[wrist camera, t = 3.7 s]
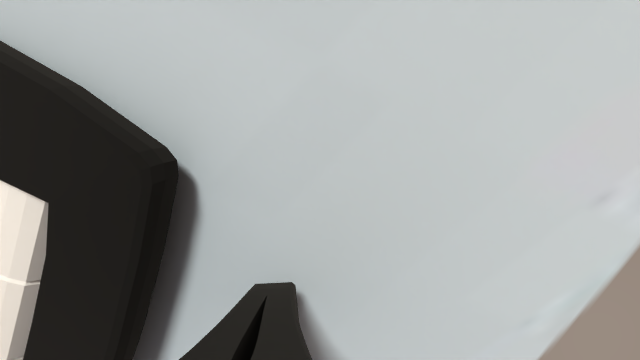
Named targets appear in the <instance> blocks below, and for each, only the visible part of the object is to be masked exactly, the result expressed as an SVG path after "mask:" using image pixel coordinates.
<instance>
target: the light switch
mask: <svg viewBox="0 0 640 360" xmlns="http://www.w3.org/2000/svg"><path fill="white" fill-rule="evenodd" d="M178 176H179V175H178V166H177V160H176V158H175V157H174V156H173V155H172V153H171V152H170V151H169V150H168V148H167V147H165V146H164V145H163V144H161V143H160V142H158V141H157V140H156V139H154V138H153V137H151V136H150V135H149V134H147V133H146V132H144V131H143V130H142V129H140V128H139V127H138V126H136V125H135V124H133V123H132V122H131V121H129V120H128V119H126V118H125V117H124V116H122V115H121V114H119V113H118V112H117V111H115V110H114V109H112V108H111V107H110V106H108V105H107V104H105V103H104V102H103V101H101V100H100V99H98V98H97V97H96V96H94V95H93V94H91V93H90V92H89V91H87V90H86V89H84V88H83V87H82V86H80V85H78V84H76V83H74V82H73V81H71V80H69V79H67V78H66V77H64V76H62V75H60V74H58V73H57V72H55V71H53V70H51V69H50V68H48V67H46V66H44V65H42V64H41V63H39V62H37V61H35V60H34V59H32V58H30V57H28V56H26V55H25V54H23V53H21V52H19V51H18V50H16V49H14V48H12V47H10V46H9V45H7V44H5V43H3V42H2V41H0V360H132V359H133V356H134V353H135V350H136V347H137V344H138V341H139V338H140V335H141V332H142V329H143V326H144V322H145V318H146V315H147V311H148V307H149V303H150V300H151V296H152V292H153V288H154V285H155V281H156V277H157V274H158V270H159V266H160V262H161V259H162V255H163V251H164V246H165V241H166V236H167V231H168V226H169V221H170V216H171V211H172V206H173V201H174V196H175V191H176V186H177V181H178Z"/></svg>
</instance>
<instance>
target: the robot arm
mask: <svg viewBox="0 0 640 360" xmlns="http://www.w3.org/2000/svg"><path fill="white" fill-rule="evenodd" d="M179 360H312V358H311V355H310V353H309V350H308V348H307V345H306V343H305V340H304V337H303V334H302V331H301V328H300V324H299V318H298V308H297V297H296V287H295V285H294V284H293V283H292V282H287V283H267V284H255V285H254V286H253V287H252V288H251V289H250V290H249V291H248V292H247V293H246V294H245V296H244V297H243V298H242V299H241V300H240V301H239V302H238V303H237V304H236V305H235V307H234V308H233V309H232V310H231V311H230V312H229V313H228V314H227V315H226V316H225V317H224V318H223V319H222V320H221V321H220V322H219V323H218V324H217V325H216V326H215V327H214V328H213V329H212V330H211V331H210V332H209V333H208V334H207V335H206V336H205V337H204V338H203V339H202V340H201V341H200V342H199V343H197V344H196V345H195V346H194V347H193V348H192V349H191V350H190V351H189V352H187V353H186V354H185V355H184V356H183V357H182V358H180V359H179Z"/></svg>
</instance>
